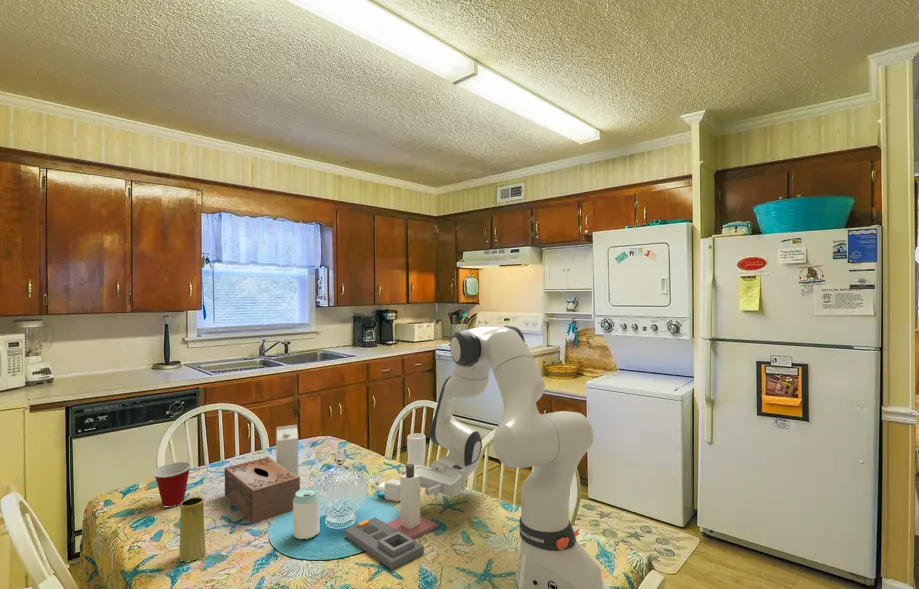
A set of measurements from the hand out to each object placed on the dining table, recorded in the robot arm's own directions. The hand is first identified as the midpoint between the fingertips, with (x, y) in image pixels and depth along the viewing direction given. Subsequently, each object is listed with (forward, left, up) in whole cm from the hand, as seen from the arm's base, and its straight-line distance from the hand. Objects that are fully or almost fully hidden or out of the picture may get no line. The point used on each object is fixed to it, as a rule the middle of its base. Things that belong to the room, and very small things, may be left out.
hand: (414, 488), depth 136 cm
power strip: (-2, +13, -11) cm, 17 cm away
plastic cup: (+67, +47, -11) cm, 82 cm away
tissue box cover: (+48, +26, -11) cm, 55 cm away
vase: (+29, +51, -11) cm, 59 cm away
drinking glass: (+28, -23, -11) cm, 38 cm away
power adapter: (+21, -5, -11) cm, 24 cm away
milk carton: (+62, +11, -11) cm, 63 cm away
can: (+18, +25, -11) cm, 32 cm away
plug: (-1, +2, -10) cm, 10 cm away
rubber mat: (0, +2, -11) cm, 11 cm away
